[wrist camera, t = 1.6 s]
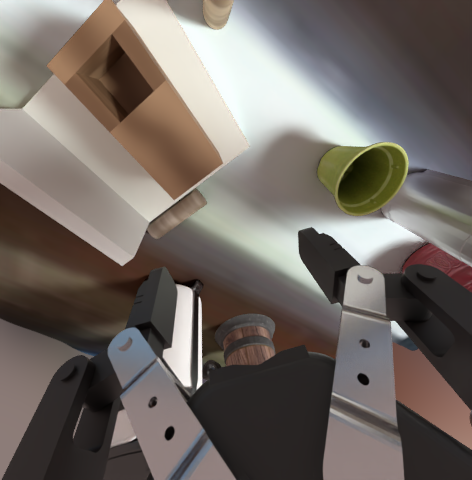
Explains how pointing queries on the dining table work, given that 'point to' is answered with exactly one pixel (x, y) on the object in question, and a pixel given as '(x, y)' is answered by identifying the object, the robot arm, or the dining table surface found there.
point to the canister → (442, 264)
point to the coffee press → (186, 369)
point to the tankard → (244, 341)
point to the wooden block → (176, 214)
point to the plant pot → (363, 175)
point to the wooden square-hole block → (135, 100)
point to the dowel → (217, 12)
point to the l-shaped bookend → (108, 145)
